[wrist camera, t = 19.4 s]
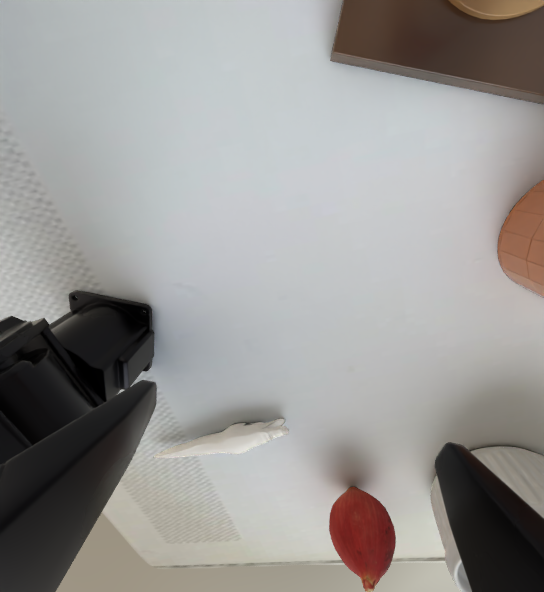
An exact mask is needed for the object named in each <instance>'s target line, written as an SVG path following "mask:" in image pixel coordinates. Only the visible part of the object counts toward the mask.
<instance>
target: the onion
mask: <svg viewBox="0 0 544 592" xmlns="http://www.w3.org/2000/svg"><path fill="white" fill-rule="evenodd" d="M329 531H330V535H331V539H332V542H333V545H334V547H335V549H336V551H337V553H338V554H339V556H340V558H341V559H342V561H343V562H344V563H345V565H346V566H347V567H348V568H349V569H350V570H351V571H353V572H354V573H355V574H357V575H358V576H359V577H360V578H361V580H362V583H363V587H364V589H365V591H367V592H371V591H373V590H374V588H375V586H376V584H377V583H378V582H379V580H380V578H381V577H382V576H383V575H384V574H385V573H386V571H387V570H388V568H389V566H390V564H391V561H392V558H393V554H394V550H395V540H396V537H395V531H394V526H393V524H392V521H391V519H390V516H389V514H388V512H387V511H386V509H385V507H384V506H383V505H382V504H381V503H380V502H379V501H378V500H377V499H376V498H374V497H373V496H371V495H370V494H368V493H366V492H364V491H362V490H359V489H358V488H356V487H350V488H349V489H348V490H347V491H346V492H345V493H344V494H342V495H341V496H340V497H339V498H338V499H337V501H336V502H335V503H334V504H333V506H332V510H331V513H330V525H329Z"/></svg>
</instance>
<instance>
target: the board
mask: <svg viewBox="0 0 544 592" xmlns="http://www.w3.org/2000/svg"><path fill="white" fill-rule="evenodd" d="M330 60H331V61H333V62H338V63H343V64H348V65H353V66H358V67H363V68H368V69H372V70H377V71H382V72H387V73H392V74H397V75H402V76H407V77H412V78H417V79H422V80H427V81H432V82H436V83H441V84H446V85H451V86H456V87H461V88H466V89H471V90H476V91H481V92H486V93H491V94H496V95H500V96H505V97H510V98H515V99H520V100H525V101H530V102H535V103H540V104H544V0H343V2H342V7H341V12H340V16H339V21H338V26H337V30H336V35H335V40H334V44H333V49H332V54H331V58H330Z"/></svg>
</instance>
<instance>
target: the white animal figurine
mask: <svg viewBox="0 0 544 592" xmlns="http://www.w3.org/2000/svg"><path fill="white" fill-rule="evenodd" d="M284 423H285V420H284V419H276V420H274V421H271V422H268V423H262V422H257V423H239V424H234V425H231V426H230V427H228V428H227V429H225V430H224V431H223V432H220V433H214V434H210V435H206V436H202V437H200V438H197V439H195V440H193V441H190V442H188V443H184V444H180V445H177V446H174V447H172V448H169V449H167V450H165V451H162V452H160V453H158V454H156V455H155V456H154V457H153V458H176V457H186V456H196V455H207V454H213V453H228V454H242V453H245V452H247V451H248V450H250V449H252V448H254V447H256V446H258V445H261V444H265V443H266V442H269V441H272V439H274V438H275V437H278V436H284V435H288V434H289V429H288V428H287V427H286V426H282V425H283V424H284Z"/></svg>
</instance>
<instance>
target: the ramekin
mask: <svg viewBox="0 0 544 592" xmlns="http://www.w3.org/2000/svg"><path fill="white" fill-rule="evenodd" d="M470 452H471V453H472V454H473V455H474V456H475V457H477V458H478V459H479V460H480V461H481V462H482V463H483V464H484V465H485V466H487V467H488V468H489V469H490V470H491V471H492V472H493V473H494V474H495V475H496V476H498V477H499V478H500V479H501V480H502V481H503V482H504V483H505V484H506V485H508V486H509V487H510V488H511V489H512V490H513V491H514V492H515V493H516V494H517V495H519V496H520V497H521V498H522V499H523V500H524V501H525V502H526V503H527V504H529V505H530V506H531V507H532V508H533V509H534V510H535V511H536V512H537V513H539V514H540V515H541V516H542V517H543V518H544V456H542V455H540V454H537V453H534V452H531V451H528V450H525V449H522V448H517V447H506V446H496V447H486V448H481V449H476V450H473V451H470ZM431 503H432V508H433V512H434V516H435V519H436V523H437V526H438V530H439V533H440V536H441V540H442V543H443V546H444V549H445V560H446V564H447V567H448V569H449V572H450V574H451V576H452V579H453V581H454V583H455V584H456V586H457V587H458V588H459V590H460V591H462V592H472V590H471V587H470V584H469V581H468V578H467V576H466V573H465V570H464V567H463V564H462V561H461V558H460V555H459V552H458V549H457V546H456V543H455V540H454V537H453V534H452V531H451V528H450V525H449V521H448V517H447V514H446V510H445V506H444V502H443V498H442V493H441V489H440V485H439V481H438V477H437V475H436V477H435V479H434V482H433V484H432V488H431Z"/></svg>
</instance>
